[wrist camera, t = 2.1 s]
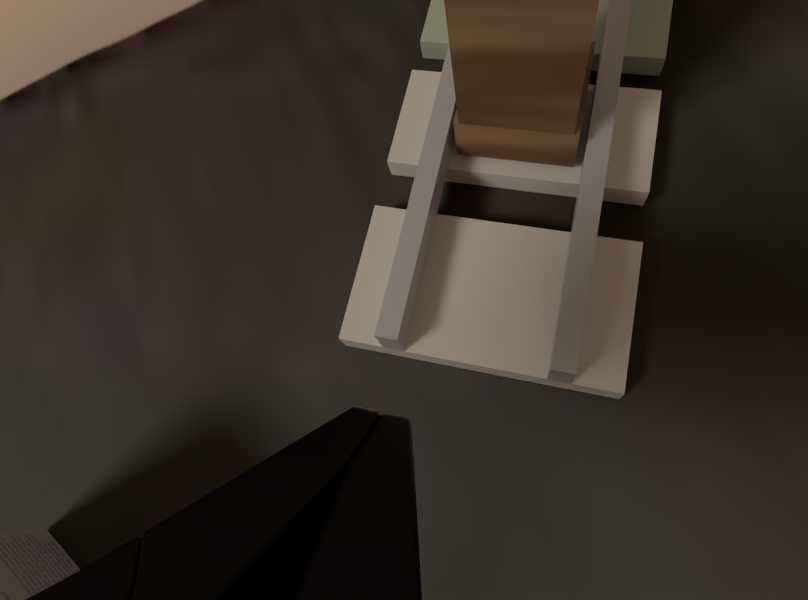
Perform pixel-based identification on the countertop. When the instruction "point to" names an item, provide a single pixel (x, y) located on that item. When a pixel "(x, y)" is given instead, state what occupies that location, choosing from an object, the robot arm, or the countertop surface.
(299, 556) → the robot arm
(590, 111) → the track
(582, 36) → the slider
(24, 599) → the medicine box
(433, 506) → the countertop surface
